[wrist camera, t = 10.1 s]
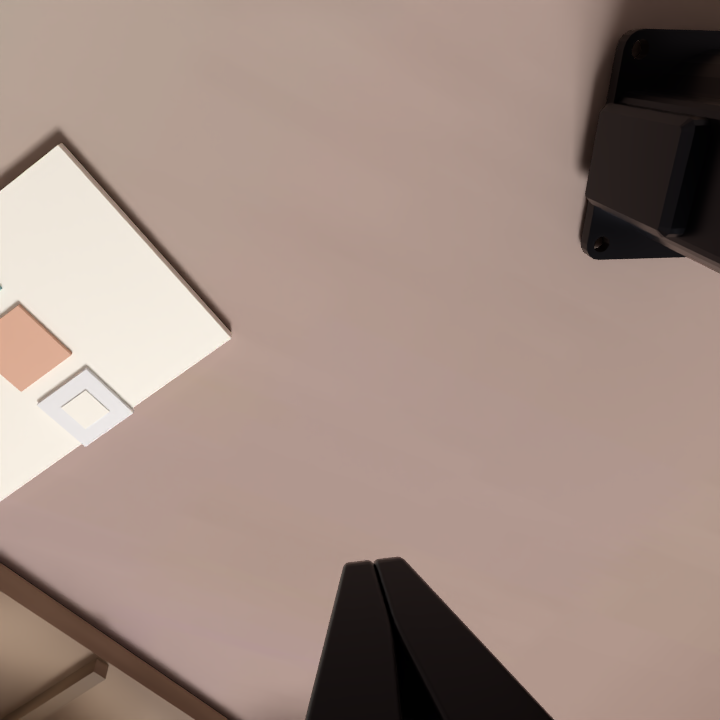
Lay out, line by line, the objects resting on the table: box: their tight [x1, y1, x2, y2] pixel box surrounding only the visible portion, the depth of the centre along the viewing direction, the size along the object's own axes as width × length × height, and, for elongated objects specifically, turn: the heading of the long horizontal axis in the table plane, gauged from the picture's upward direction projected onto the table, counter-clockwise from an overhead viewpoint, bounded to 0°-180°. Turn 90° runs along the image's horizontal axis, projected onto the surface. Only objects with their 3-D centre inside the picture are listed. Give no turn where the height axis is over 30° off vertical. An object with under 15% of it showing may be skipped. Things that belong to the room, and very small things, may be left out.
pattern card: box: [0, 143, 232, 501], centre depth 19 cm, size 10×7×1 cm
